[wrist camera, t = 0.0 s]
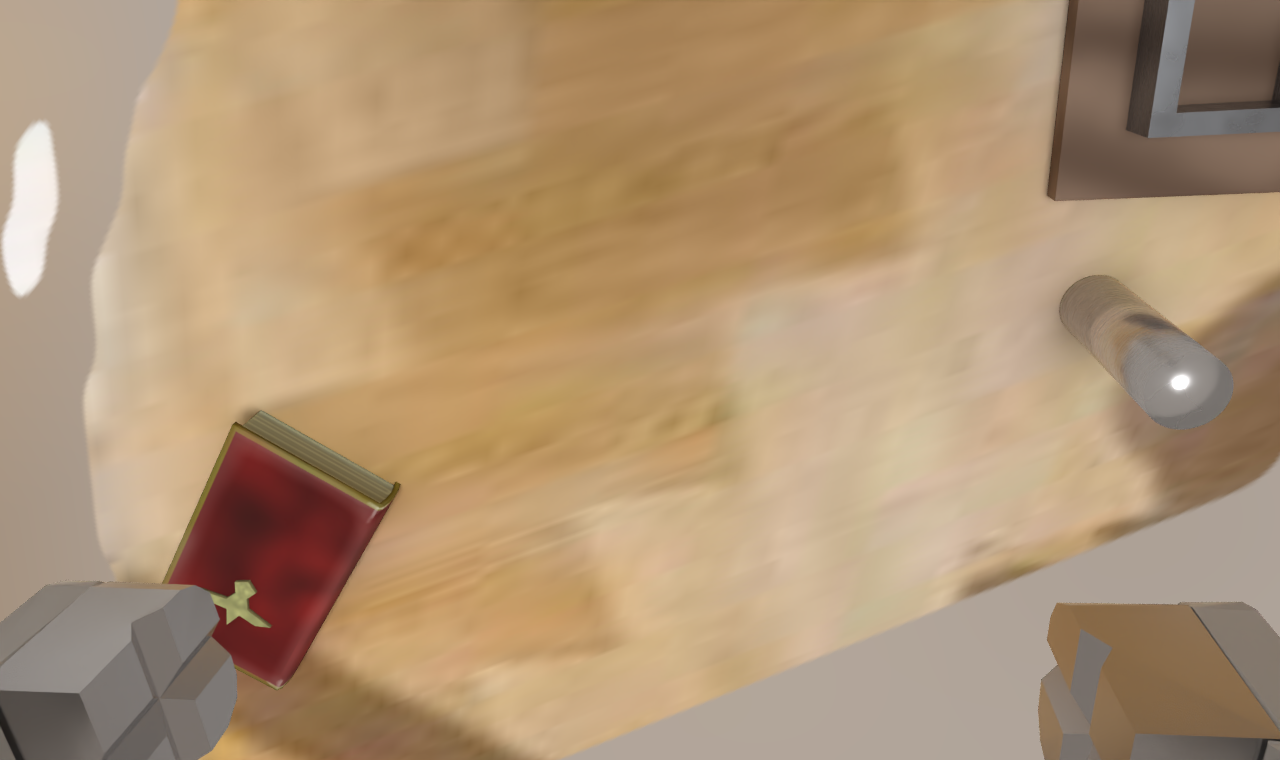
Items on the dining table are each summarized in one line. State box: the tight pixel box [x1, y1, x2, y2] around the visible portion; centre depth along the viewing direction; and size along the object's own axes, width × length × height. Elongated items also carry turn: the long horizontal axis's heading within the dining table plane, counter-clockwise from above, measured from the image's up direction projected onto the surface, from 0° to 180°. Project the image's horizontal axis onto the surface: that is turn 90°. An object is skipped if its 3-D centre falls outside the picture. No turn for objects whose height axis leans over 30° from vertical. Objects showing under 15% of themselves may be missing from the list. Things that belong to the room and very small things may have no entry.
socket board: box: [1047, 0, 1280, 201], centre depth 47 cm, size 16×15×2 cm
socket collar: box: [1126, 0, 1280, 138], centre depth 45 cm, size 8×8×3 cm
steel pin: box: [1060, 275, 1233, 429], centre depth 49 cm, size 4×4×13 cm
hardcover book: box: [162, 410, 400, 690], centre depth 68 cm, size 12×21×4 cm, turn 149°
